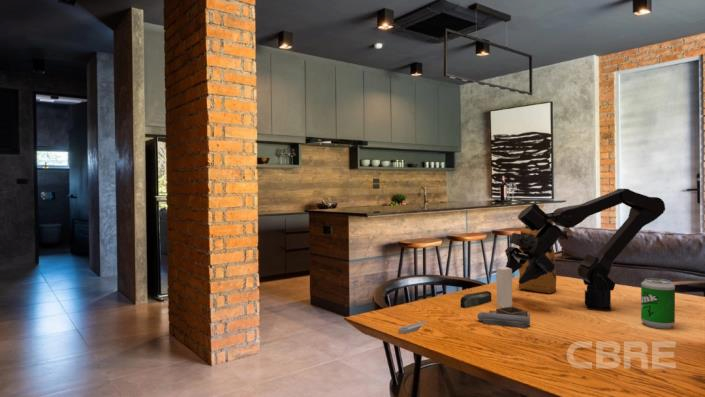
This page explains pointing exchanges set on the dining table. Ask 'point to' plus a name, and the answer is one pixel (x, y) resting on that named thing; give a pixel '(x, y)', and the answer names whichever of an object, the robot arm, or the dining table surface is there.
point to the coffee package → (540, 283)
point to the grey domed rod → (504, 317)
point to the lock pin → (504, 287)
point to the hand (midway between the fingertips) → (511, 279)
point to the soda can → (658, 303)
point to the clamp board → (508, 311)
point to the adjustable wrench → (411, 327)
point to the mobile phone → (475, 299)
